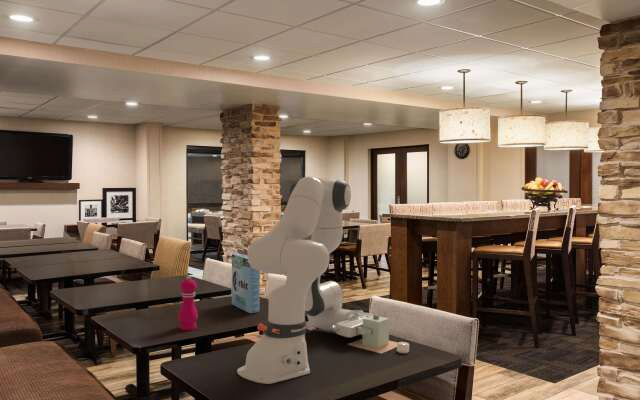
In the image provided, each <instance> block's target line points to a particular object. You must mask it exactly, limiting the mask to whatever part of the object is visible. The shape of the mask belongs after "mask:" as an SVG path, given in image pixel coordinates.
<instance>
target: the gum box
mask: <svg viewBox="0 0 640 400" xmlns="http://www.w3.org/2000/svg"><path fill="white" fill-rule="evenodd" d="M260 272H261V271H257V270H255V269H253V268H252V267H251V266H250V264H249V262H248V258H247V254H245V253H244V254H243V253H242V252H240V253H239V252H237V253H231V305H233V306H235V307H237V308H238V309H241V310H242V311H244V312H247V313H248V314H255V313H260V312H261V311H260V304H261V303H260V302H261V301H260V300H261V298H260V297H261V296H260V294H261V293H260V291H261V290H260V289H261V288H260V287H261V283H260V281H261V278H260V275H261V274H260Z"/></svg>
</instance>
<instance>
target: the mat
mask: <svg viewBox="0 0 640 400" xmlns="http://www.w3.org/2000/svg"><path fill="white" fill-rule="evenodd" d="M397 343H398V342H397V341H392V340H389V344H388V345H385V346H383V347H380V348H375V347H371V346H367V345H363V344H362V338H361V339H358V340H355V341H353V342H350V343H347V345H348V346H351V347H355V348H359V349H364V350H365V351H371V352H374V353H376V354H377V353H378V354H384V353H386V352H388V351H390V350H393V349H395V348H396V349H397Z"/></svg>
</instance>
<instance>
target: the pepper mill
mask: <svg viewBox="0 0 640 400" xmlns="http://www.w3.org/2000/svg"><path fill="white" fill-rule="evenodd" d="M197 287H198V286H197V282H196V281H195V280H194V279H192V276H191V275H190V274H187V275H186V279H184V280H183V281H181V283H180V287H179V288H180V290H181V291H182V292H181V297H182V304H181V307H180V310H179V311H178V316H177V318H178V321H180V322H179V330H182V331H193V330H195V329H197V327H198V326H197V322H196V321H197V320H198V318H199V315H198V313H199V312H198V310H197V308H196V305H195V297H196V292H195V291H196V290H197Z"/></svg>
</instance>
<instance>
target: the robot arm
mask: <svg viewBox="0 0 640 400" xmlns="http://www.w3.org/2000/svg"><path fill="white" fill-rule="evenodd" d="M351 199H352V190H351V187H350V185H349V183H348V182H347V181H345V180H341V179H329V178H321V177H315V176H304V177H302V178H297V179H294V180H293V182H291V183H290V186H289V188H288V201H287V204H286V206H285V208H284V211H283V214H282V216H281V218H280V220H279V221H278V222H277V223H276V225H275V226H274V227H273V228H272V229H271V230H269V231H268V232H267V233H265V234H264V235H262V236H261V237H258V238H255V239H254V240H253V241H252V242H251V243H250V245H249V247H248V248H247V254H246V255H247V258H248V262H249V264H250V266H251V267H252V268H253V269H255V270H257V271H260V272H261V273H265V274H272V275H281V276H286V280H285V283H284V284H282V285H280V286H278V287H276V288H275V289H273V290H272V291H271V293H270V294H269V297H268V312H267V313H268V315H267V317H268V318H267V320H266V322H265V324H264V323H259V324H258V325H257V327H256V328H257V330H258V331H261V332H263V334H262V335H261V337H259V339H258V340H257V341H256V342H255V344H253V346H251V348H249V350H248V351H247V353H246V358H245V364H244V365H243V366H241V367H239V368H237V369H236V370H237V371H236V372H237V375H239V376H240V377H242V378H243V379H246V380H248V381H251V382H255V383H258V384H266V385H267V384H268V385H271V384H275V383H278V382H283V381H286V380H291V379H293V378H297V377H301V376H305V375H308V374H310V373H311V369H310V365H309V360H308V359H309V358H308V349H307V348H308V346H307V341H306V332H307V321H308V322H309V324H311V325H312V326H314V327H316V328H318V329H321V330H324V331H333V332H334V333H336V335H339V336H342V337H345V338H353V337H356V336H359V335H362V334H367V335H371V334H372V333H373V332H372V331H373V330H372V329H370V328H368V329H366V328H363V318H366V317H369V316H372V315H374V314H373V313H370V312H364V311H363V310H361V309H354V310H351V309H345V308H343V304H344V291H343V288H342V287H341V285H340V284H339V283H338V282H336V281H335V280H329V281H324V282H323V283H320V282H321V276H322V275H323V274H324V273H326V271H327V269H328V268H329V264H330V254H331V253H332V252H334V251H335V250H336V249H337V248H338V247H339V246H340V244H341V243H342V240H343V232H344V231H343V230H344V229H343V228H344V227H343V226H344V225H343V224H344V223H343V211H344V210H346V209H347V208H348V206H349V205H350V203H351ZM310 236H311V239H306V238H308V237H310ZM305 314H306V315H307V320H306V315H305Z"/></svg>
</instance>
